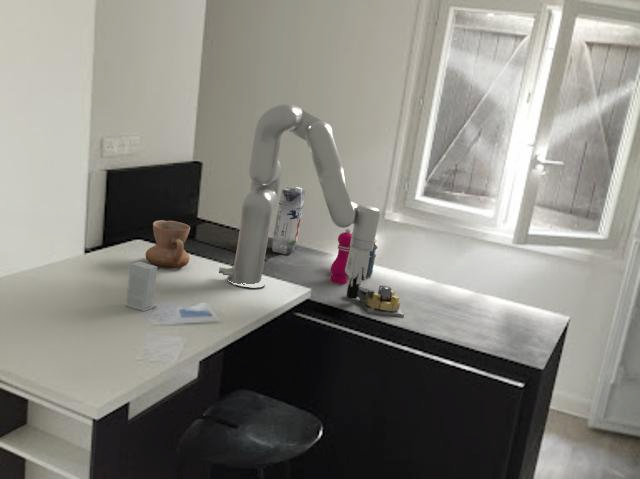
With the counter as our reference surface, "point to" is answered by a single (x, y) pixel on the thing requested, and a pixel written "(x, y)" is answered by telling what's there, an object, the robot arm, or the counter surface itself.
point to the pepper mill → (341, 258)
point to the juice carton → (288, 220)
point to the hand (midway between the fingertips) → (351, 297)
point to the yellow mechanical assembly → (378, 299)
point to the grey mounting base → (385, 296)
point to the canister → (371, 260)
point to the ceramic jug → (169, 245)
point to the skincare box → (141, 286)
